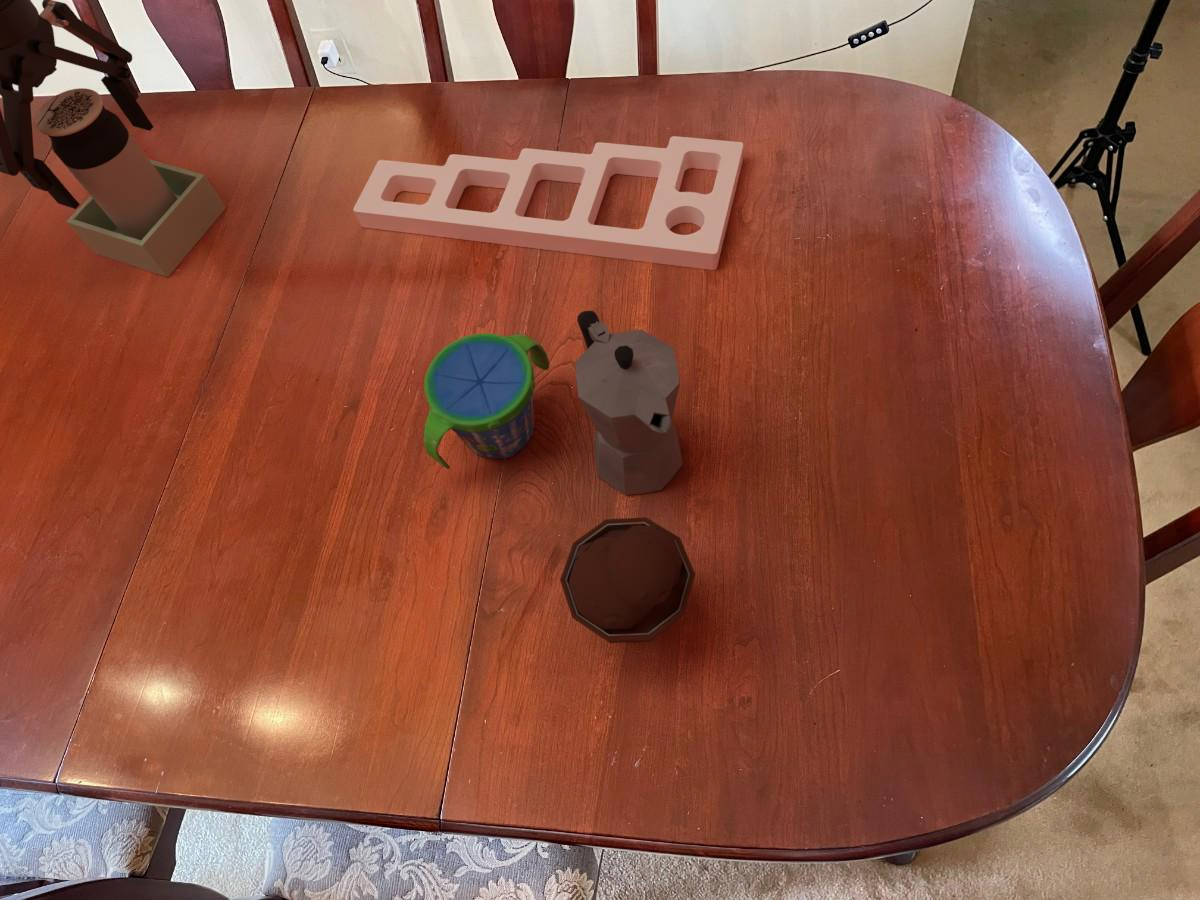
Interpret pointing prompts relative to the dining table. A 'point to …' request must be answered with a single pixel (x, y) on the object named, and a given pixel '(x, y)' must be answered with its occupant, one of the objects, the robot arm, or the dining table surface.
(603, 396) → the coffeepot
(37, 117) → the travel mug
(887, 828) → the dining table surface
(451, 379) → the snack cup
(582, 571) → the plant pot with soil
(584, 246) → the holder
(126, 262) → the bin
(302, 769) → the dining table surface
